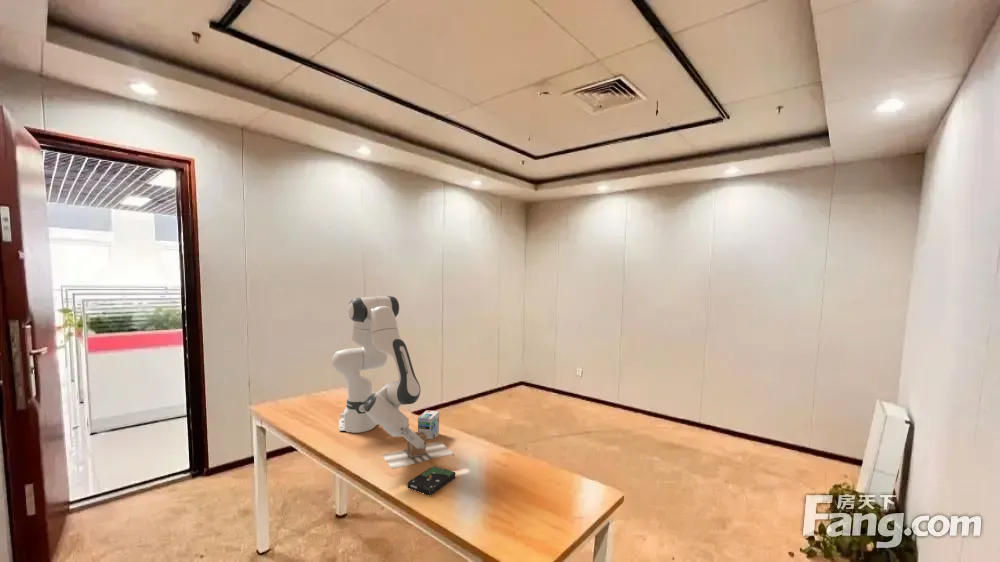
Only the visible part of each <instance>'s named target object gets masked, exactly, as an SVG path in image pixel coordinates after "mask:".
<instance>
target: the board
mask: <svg viewBox="0 0 1000 562" xmlns="http://www.w3.org/2000/svg"><path fill="white" fill-rule="evenodd" d="M450 455H452V456H455V453H454V451H452V450H451V449H450V448H449V447H447V445H445V444H443V443H442V441H435V442H431V443H426V451H425V455H423V456H418V457H412V458H411V457H410V456H409V455H408V454H407V448H404V449H400V450H396V451H392V452H388V453H383V454H381V457H382V458H383V459H384V460H385V462H386V463H387V464H388V465H389V466H390V468H391V469H392V470H395V469H398V468H403V467H407V466H411V465H414V464H419V463H422V462H426V461H429V460H434V459H438V458H442V457H446V456H450Z"/></svg>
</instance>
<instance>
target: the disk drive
mask: <svg viewBox="0 0 1000 562" xmlns="http://www.w3.org/2000/svg"><path fill="white" fill-rule="evenodd" d="M455 479H456V471H452V470H449V469H447V468H441V467H438V466H437V465H434V466H432V467H429V468H428V469H427V470H424V471H423V472H421V473H420V474H418V475H417V476H415V477H414V478H412V479H411V480H408V482H407V488H408V489H409V488H410V490H412V489H413V490H412V491H414V490H416V491H415V492H417V491H419V492H421V493H420V494H422V493H424V494H423V495H425V494H426V495H425V496H427V495H429V496H428V497H431V496H433V495H434V494H435V493H436V491H437V492H438V491H440V490H441V489H442V488H444V487H445V486H446V485H448V484H449V483H451V482H452V481H453V480H455ZM443 486H444V487H443ZM419 492H418V493H419ZM432 494H433V495H432ZM430 495H431V496H430Z"/></svg>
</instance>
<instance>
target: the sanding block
mask: <svg viewBox="0 0 1000 562" xmlns="http://www.w3.org/2000/svg"><path fill="white" fill-rule="evenodd" d="M413 432H414V433H416V434H417V435H418V436H419V437H420V438H421V439H422V440H423V441H424V444H425V447H424V448H423V449H422V448H420V449H417V448H416V447H414V446H413V445H412V444H411V443H410V442H408V441H407V444H406V449H407V454H408V455H409V456H410V457H411V458H412V457H418V456H423V455H425V451H426V444H427V439H426V438H427V435H426V434H424V433H423V432H422V431H421V432H418V431H417V432H415V431H413Z"/></svg>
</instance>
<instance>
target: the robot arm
mask: <svg viewBox="0 0 1000 562" xmlns="http://www.w3.org/2000/svg"><path fill="white" fill-rule="evenodd" d="M399 311H400V304H399V300H398V299H397V298H396V297H395V296H391V295H387V296H386V295H373V296H366V297H365V296H364V297H356V298H353V299H351V300H350V302H348V307H347V312H348V315H349V318H350V319H351V320H352V328H351V333H350V334H351V335H350V336H351V340H352V342H354V344H357V345H358V346H361V347H354V348H353V347H352V348H345V349H341V350H337V351H335V353H334V354H333V356H332V358H331V365H332V367H333V369H334V370H335V371H336V372H337V373H339V374H340V375H341V376H342V377H343V378H344V379H345V381H346V385H347V399H346V405H345V408H344V410H343V412H342V413H340V415H339V416H340V419H338V432H340V431H346V432H347V433H350V432H351V433H353V434H355V433H357V434H359V433H364V432H369V431H371V430H372V429H373V430H374V428H375V427H376V426H378V425H379V426H381V428H382V429H383V430H384V431H386V432H387V433H388V434H389V435H390V436H392V437H393V438H397V437H403V438H404V439H405V440H406V441H407V443H408V442H410V443H411V444H412V445H413V446H414V447H416V448H417V449H420V448H422V449H423V448H424V447H425V444H424V441H423V440H422V439H421V438H420V437H419V436H418V435H417V434H416V433H414V432H415V431H413V430H412V429H411V428H410V421H409V420H410V419H409V418H408V416H406V415H405V413H403V412H402V411H400V409H399V408H400V406H404V405H413V404H416V402H417V401H418V400H419V398H420V394H421V386H420V382H419V380H418V379H417V376H416V374H415V371H414V368H413V363H412V360H411V357H410V354H409V350H408V347H407V345H406V343H405V342H404V341H403V340H402V338H401V336H400V333H399V327H398V323H397V319H396V317H398V315H399V313H400V312H399ZM388 355H390V356H391V357H392V358H393V360H394V363H395V366H396V370H397V374H398V380H397V381H391V382H389V383H386V384H384V385H383V386H382V387H381V388H380V389H379V390H378V391H376V392H373V384H372V381H371V380H370V379H369V378H368V377H365V376H362V375H361V374H360V372H361V371H367V370H368V371H369V370H375V369H379V368H381V367H385V365H386V364H387V362H388ZM346 432H345V433H346Z"/></svg>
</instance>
